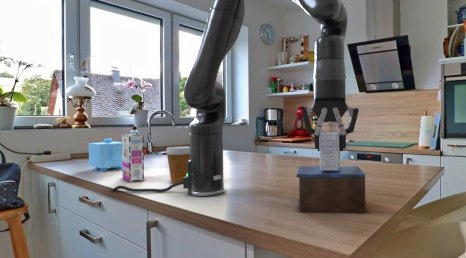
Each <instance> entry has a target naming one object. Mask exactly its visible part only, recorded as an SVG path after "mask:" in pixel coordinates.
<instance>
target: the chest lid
mask: <svg viewBox="0 0 466 258" xmlns="http://www.w3.org/2000/svg"><path fill="white" fill-rule="evenodd" d="M299 177H363V178H365V179H366V173H365V172H364V171H363V170H362V169H361V168H360V167H359V166H358V165H340V167H339V171H321V170H320V165H299V166H298V169H297V172H296V178H299Z"/></svg>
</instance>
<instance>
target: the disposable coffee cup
mask: <svg viewBox="0 0 466 258" xmlns="http://www.w3.org/2000/svg"><path fill="white" fill-rule="evenodd" d="M165 154H166V157H167V164H168V169H169V176H170V182H171V184H174V183H177V182H180V181H183V178H184V177H186V176H187V174H188V172H187V162H188V161H189V160H190V145H182V146H181V145H180V146H179V145H178V146H168V147H166V150H165Z"/></svg>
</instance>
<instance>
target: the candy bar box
mask: <svg viewBox="0 0 466 258" xmlns="http://www.w3.org/2000/svg"><path fill="white" fill-rule="evenodd" d="M144 141H145V139H144V134H121V142H122V169H121V171H122V173H121V174H122V179H124V180H125V181H127V182H129V183H133V182H135V183H136V182H143V181H145V158H144V157H145V149H144V148H145V147H144V145H145V143H144Z"/></svg>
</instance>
